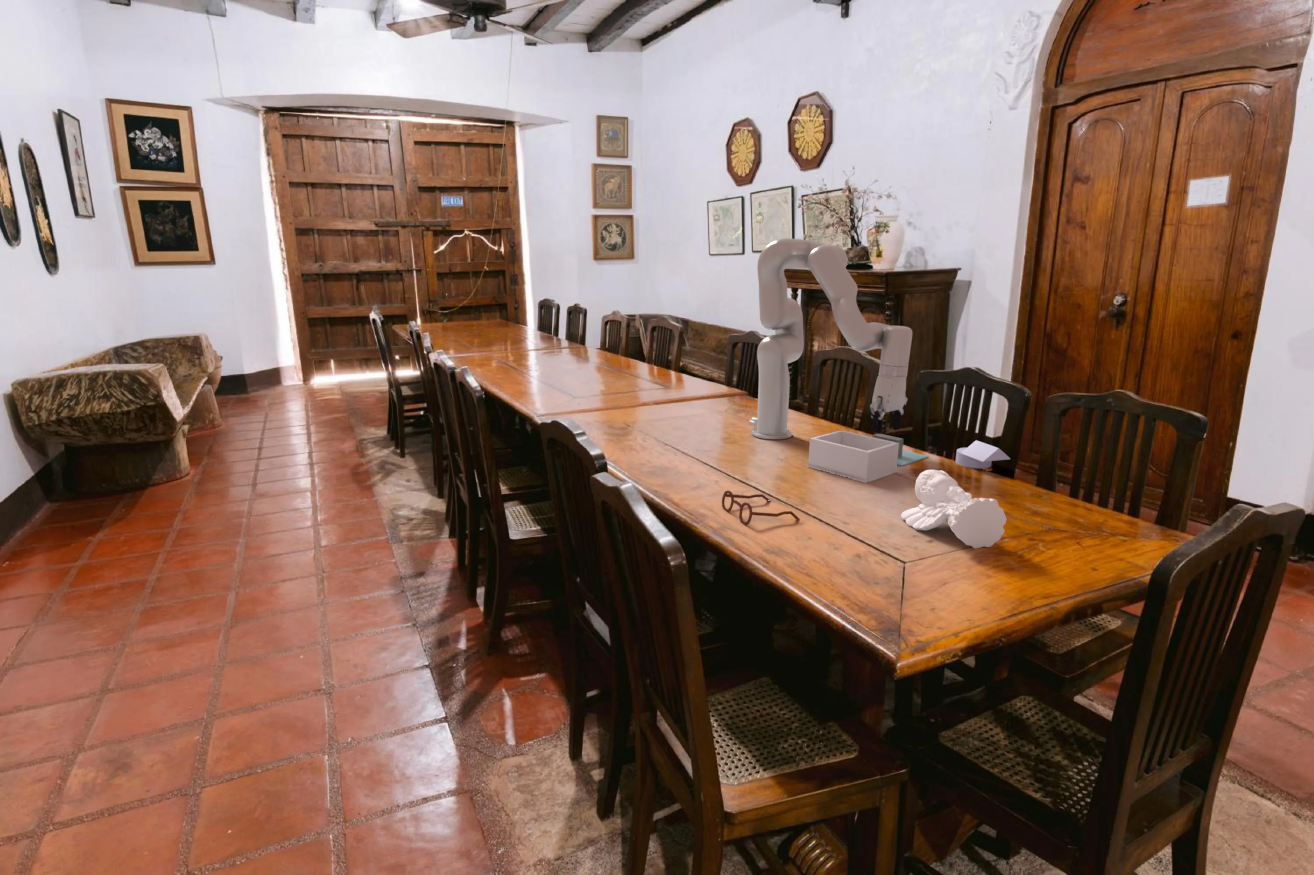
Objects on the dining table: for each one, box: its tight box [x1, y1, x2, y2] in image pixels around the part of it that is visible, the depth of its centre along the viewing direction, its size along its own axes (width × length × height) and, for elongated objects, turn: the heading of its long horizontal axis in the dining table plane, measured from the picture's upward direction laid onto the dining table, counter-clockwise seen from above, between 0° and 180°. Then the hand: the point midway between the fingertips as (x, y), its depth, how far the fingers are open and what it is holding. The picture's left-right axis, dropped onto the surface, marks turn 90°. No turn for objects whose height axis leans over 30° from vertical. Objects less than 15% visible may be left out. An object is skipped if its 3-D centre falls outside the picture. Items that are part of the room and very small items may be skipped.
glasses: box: [721, 490, 800, 526], centre depth 157 cm, size 13×13×5 cm
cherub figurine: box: [900, 469, 1007, 549], centre depth 146 cm, size 13×12×20 cm
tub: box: [807, 430, 899, 484], centre depth 188 cm, size 18×14×8 cm
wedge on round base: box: [955, 439, 1011, 469], centre depth 193 cm, size 9×7×13 cm
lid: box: [872, 433, 929, 468], centre depth 203 cm, size 18×14×6 cm
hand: (885, 430), depth 202 cm, fingers open, 9 cm apart
